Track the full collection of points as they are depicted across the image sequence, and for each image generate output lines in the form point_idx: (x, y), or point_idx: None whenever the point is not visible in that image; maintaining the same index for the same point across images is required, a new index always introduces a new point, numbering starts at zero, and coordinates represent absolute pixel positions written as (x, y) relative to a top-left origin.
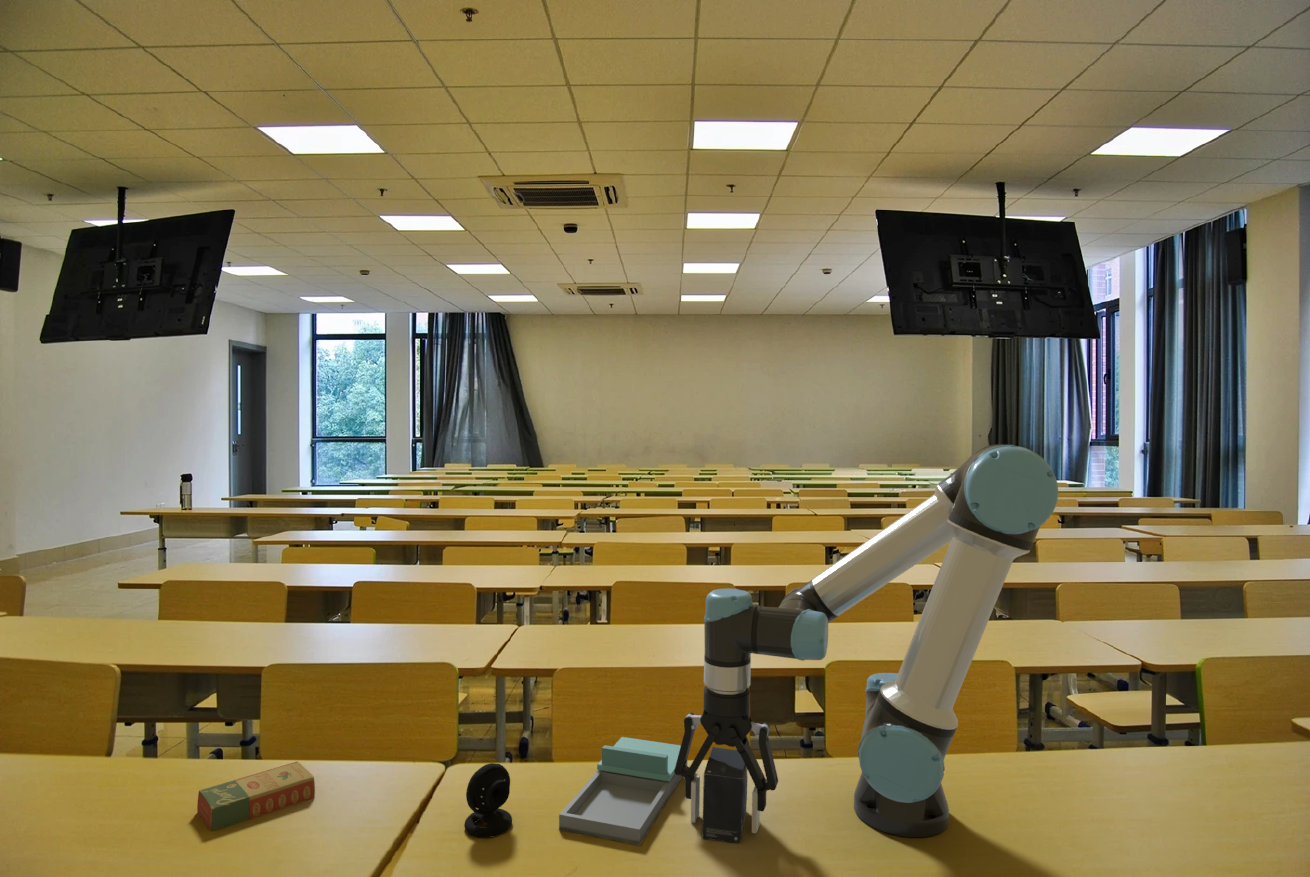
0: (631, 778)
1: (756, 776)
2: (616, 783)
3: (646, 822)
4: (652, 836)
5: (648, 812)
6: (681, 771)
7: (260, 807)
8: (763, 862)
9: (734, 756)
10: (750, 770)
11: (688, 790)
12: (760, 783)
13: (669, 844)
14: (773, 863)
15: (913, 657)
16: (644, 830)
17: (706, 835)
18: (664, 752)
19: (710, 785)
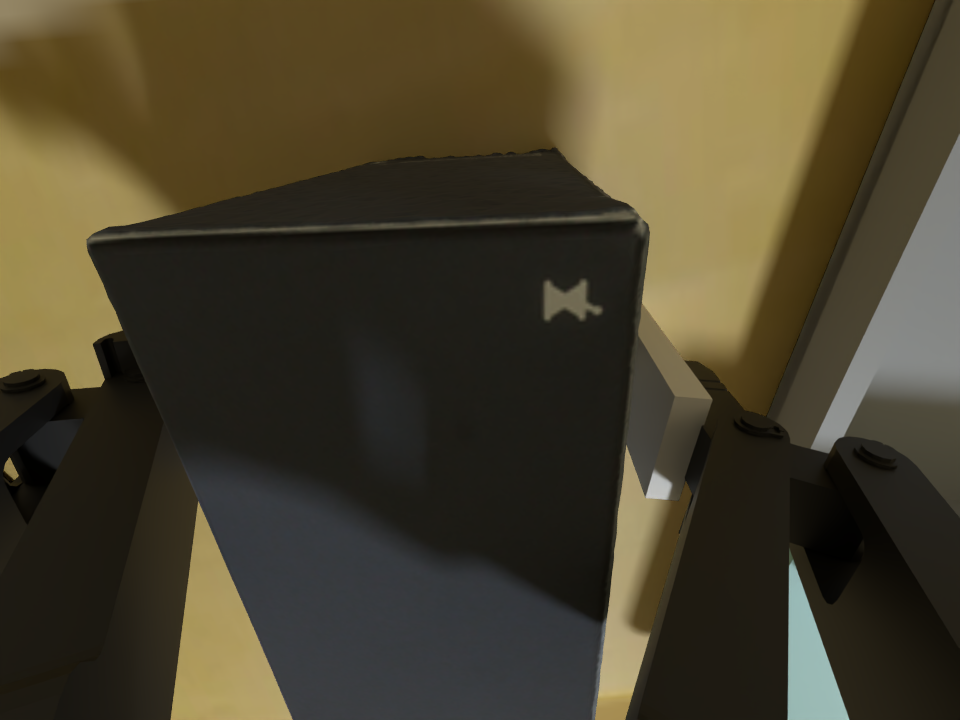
0: None
1: (101, 435)
2: None
3: (949, 109)
4: (851, 103)
5: (941, 202)
6: (842, 458)
7: None
8: (200, 4)
9: (360, 663)
10: (117, 471)
11: (703, 386)
12: (110, 398)
13: (747, 38)
14: (151, 11)
15: None
16: (942, 64)
17: (539, 152)
18: (810, 710)
19: (529, 188)
